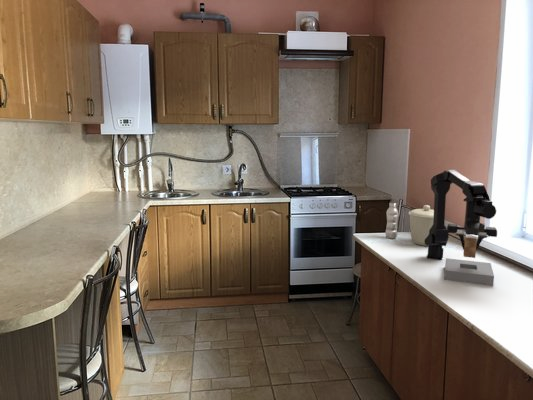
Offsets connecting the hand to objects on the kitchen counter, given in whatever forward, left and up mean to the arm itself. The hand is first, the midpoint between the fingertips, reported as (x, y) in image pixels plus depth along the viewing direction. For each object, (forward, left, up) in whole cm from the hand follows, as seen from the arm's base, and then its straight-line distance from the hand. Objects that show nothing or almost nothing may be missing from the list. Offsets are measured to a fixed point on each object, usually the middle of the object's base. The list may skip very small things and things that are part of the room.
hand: (469, 250), depth 185 cm
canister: (-20, +47, -11) cm, 52 cm away
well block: (0, 0, -11) cm, 11 cm away
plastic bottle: (-38, +52, -11) cm, 65 cm away
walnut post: (0, 0, -3) cm, 2 cm away
